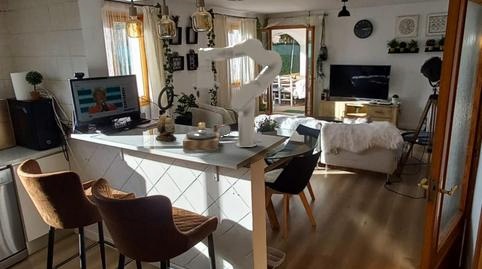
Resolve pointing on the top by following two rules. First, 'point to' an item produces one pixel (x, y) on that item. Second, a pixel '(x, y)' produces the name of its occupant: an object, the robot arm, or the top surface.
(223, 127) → the tin
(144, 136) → the top surface
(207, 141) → the wheel block
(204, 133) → the pot lid
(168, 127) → the owl figurine
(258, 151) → the top surface
